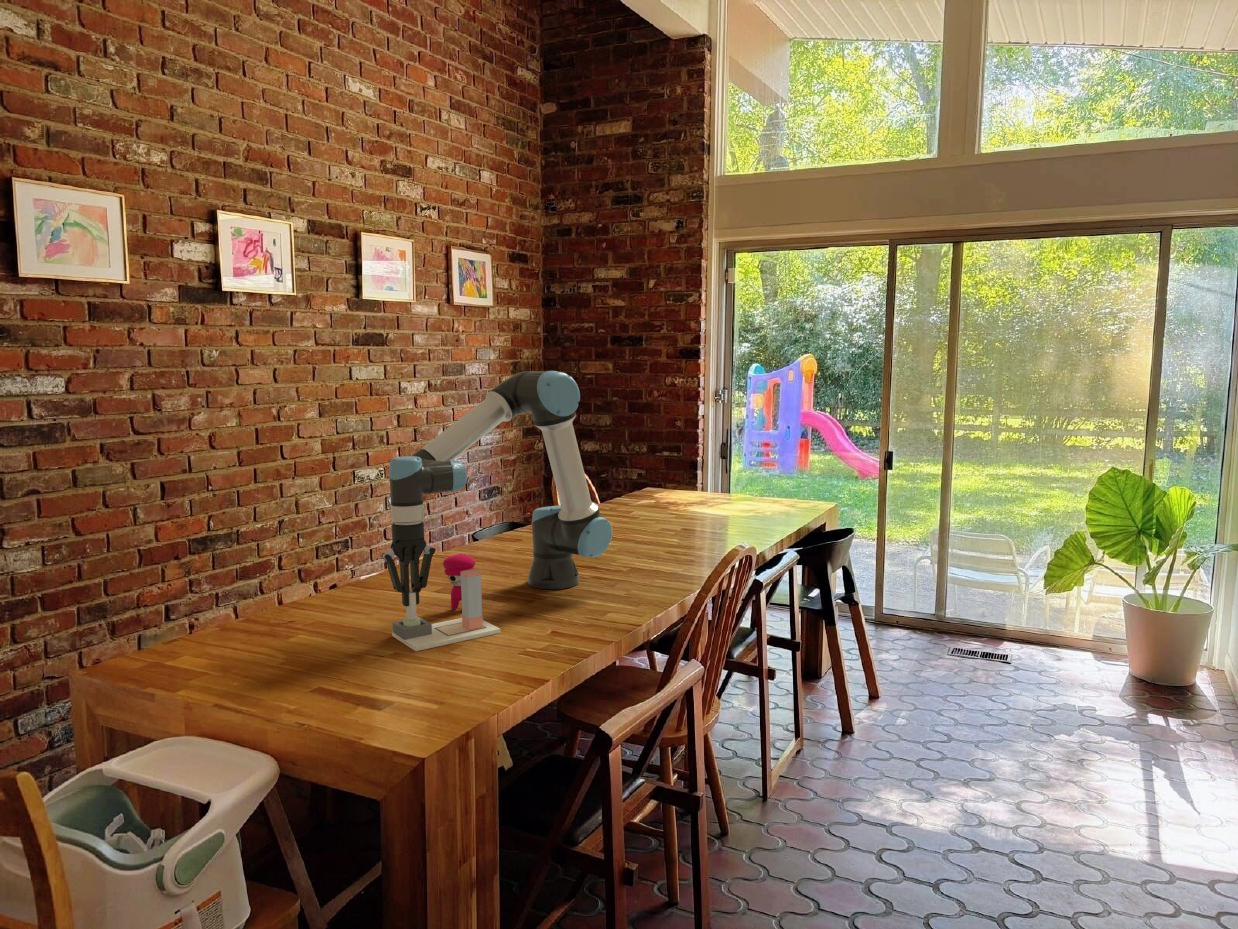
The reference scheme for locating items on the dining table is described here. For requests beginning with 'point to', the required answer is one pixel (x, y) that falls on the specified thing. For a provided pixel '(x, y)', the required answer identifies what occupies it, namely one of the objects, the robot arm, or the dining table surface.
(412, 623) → the button
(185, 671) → the dining table surface
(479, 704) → the dining table surface
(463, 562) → the toy
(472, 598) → the grey and pink block
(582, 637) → the dining table surface
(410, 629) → the panel
